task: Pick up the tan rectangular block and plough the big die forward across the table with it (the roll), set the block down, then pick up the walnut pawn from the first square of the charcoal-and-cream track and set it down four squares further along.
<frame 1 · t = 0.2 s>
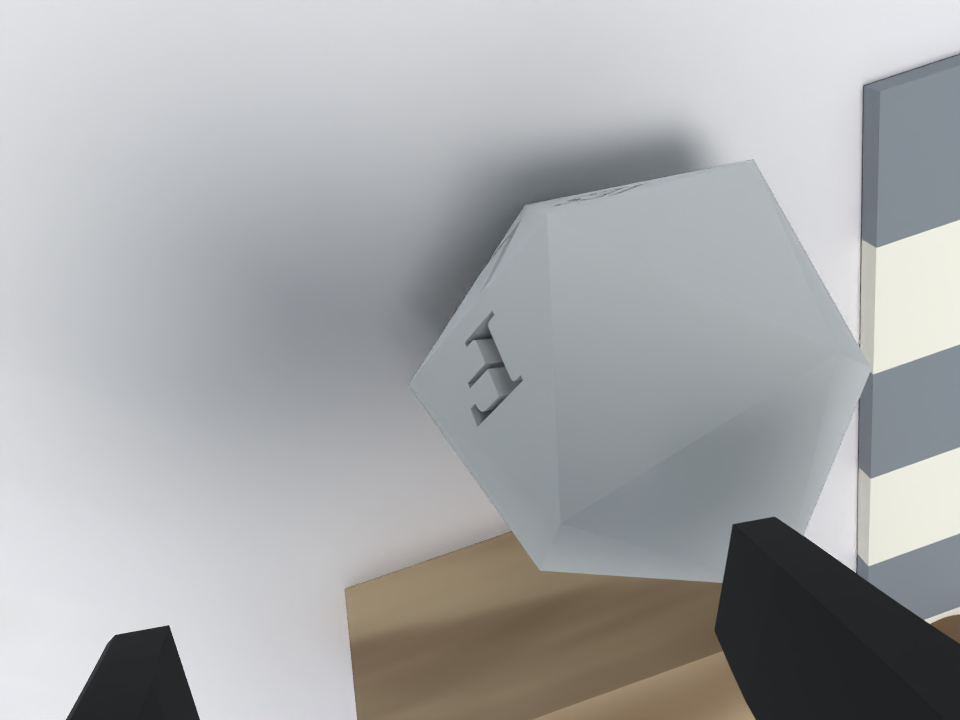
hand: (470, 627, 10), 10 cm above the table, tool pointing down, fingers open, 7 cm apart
pawn: (939, 646, 30), point 1 cm above the table, touching track
die: (579, 293, 20), on the table
track: (946, 435, 25), on the table
tan rectangular block: (551, 558, 24), on the table
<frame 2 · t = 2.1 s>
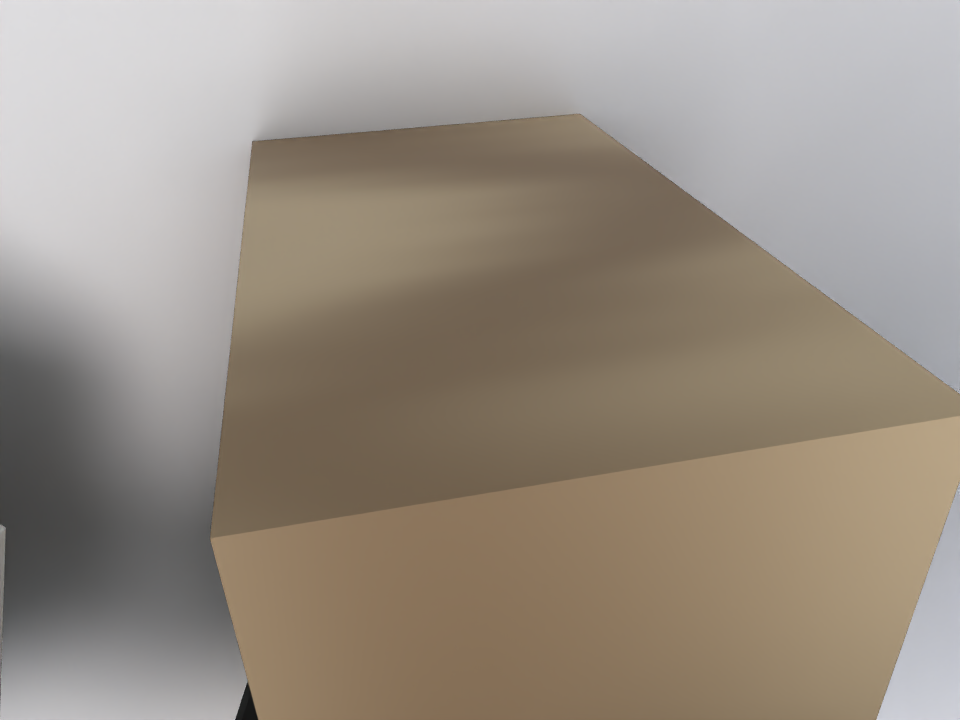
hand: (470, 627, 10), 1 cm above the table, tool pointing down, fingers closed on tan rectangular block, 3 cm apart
tan rectangular block: (448, 546, 12), on the table, touching gripper
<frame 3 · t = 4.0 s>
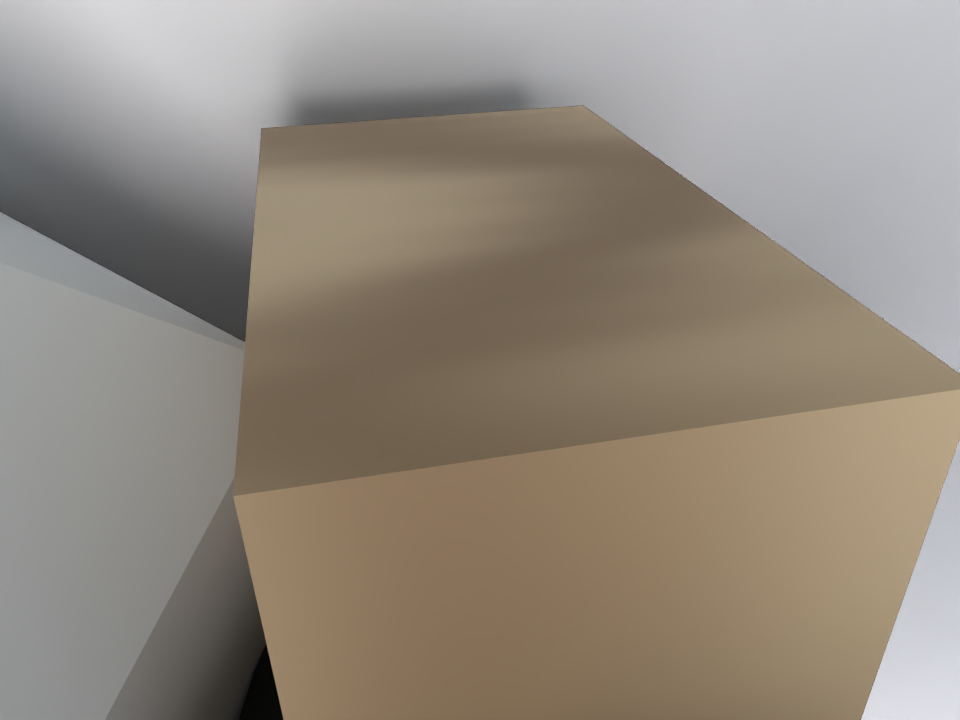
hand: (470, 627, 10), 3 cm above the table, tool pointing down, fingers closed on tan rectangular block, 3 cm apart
tan rectangular block: (449, 534, 12), point 2 cm above the table, touching die, gripper
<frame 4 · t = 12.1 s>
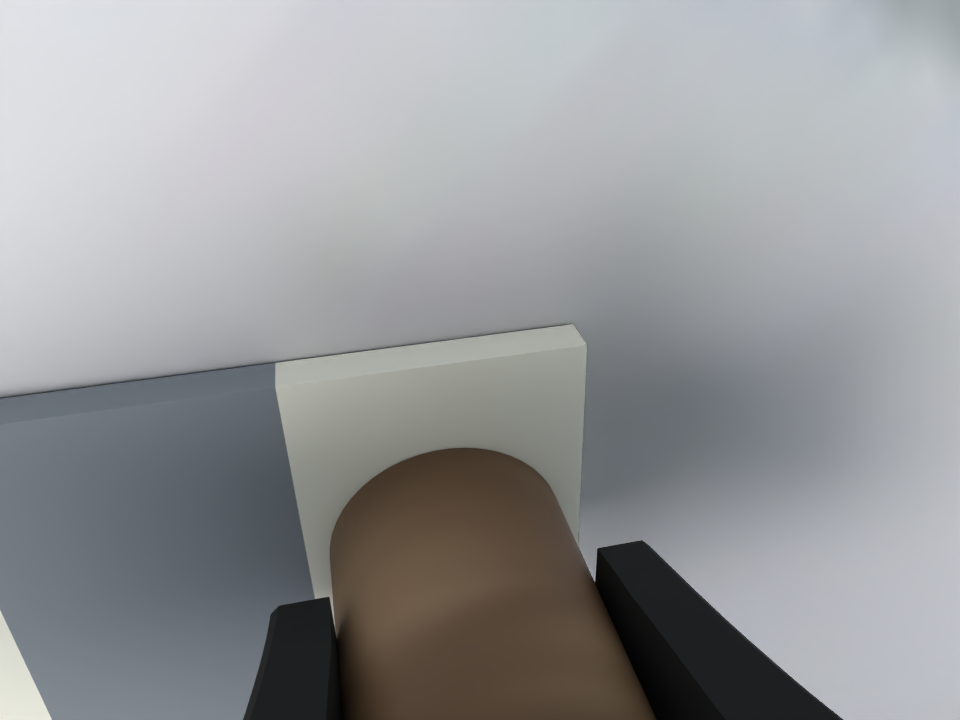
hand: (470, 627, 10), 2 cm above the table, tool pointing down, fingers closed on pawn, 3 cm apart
pawn: (448, 542, 12), point 1 cm above the table, touching gripper, track
when the fingers open (3 cm above the table, at t = 15.6 s): pawn drops 1 cm, resting on track.
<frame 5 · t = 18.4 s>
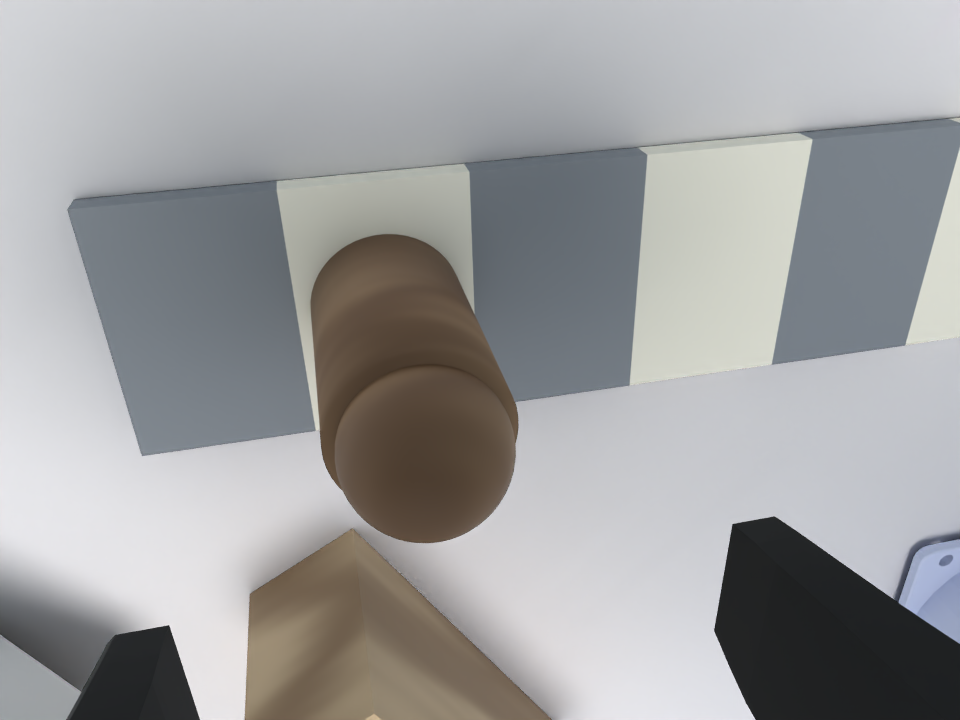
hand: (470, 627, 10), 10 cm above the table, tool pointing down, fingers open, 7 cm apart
pawn: (387, 305, 18), point 1 cm above the table, touching track
track: (628, 269, 20), on the table
tan rectangular block: (420, 662, 25), on the table
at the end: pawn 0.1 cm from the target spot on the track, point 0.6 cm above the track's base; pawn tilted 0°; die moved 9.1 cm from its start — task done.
